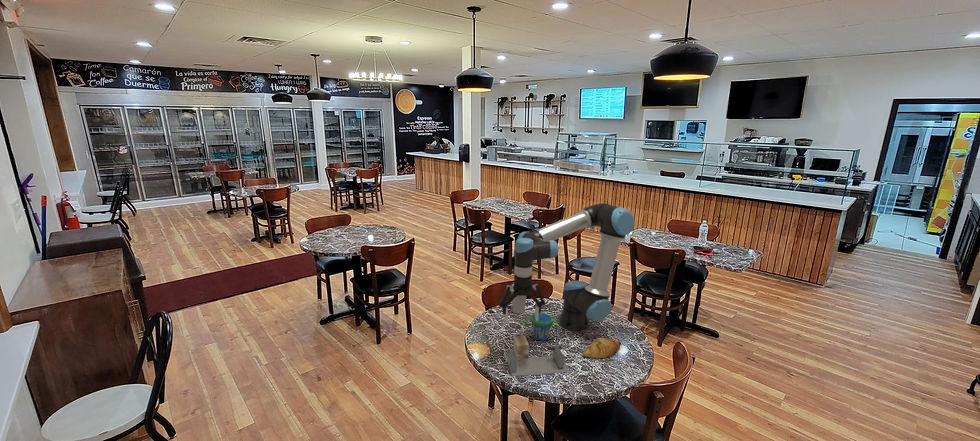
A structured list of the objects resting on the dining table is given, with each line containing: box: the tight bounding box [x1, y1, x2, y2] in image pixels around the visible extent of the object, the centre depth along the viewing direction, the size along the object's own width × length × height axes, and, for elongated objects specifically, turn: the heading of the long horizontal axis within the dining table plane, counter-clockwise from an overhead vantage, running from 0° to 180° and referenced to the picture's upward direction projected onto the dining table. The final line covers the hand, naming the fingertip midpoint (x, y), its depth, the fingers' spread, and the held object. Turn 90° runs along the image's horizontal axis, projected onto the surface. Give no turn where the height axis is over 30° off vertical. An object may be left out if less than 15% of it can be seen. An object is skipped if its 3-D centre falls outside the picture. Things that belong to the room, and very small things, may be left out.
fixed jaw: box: [507, 348, 517, 373], centre depth 169 cm, size 2×9×5 cm, turn 8°
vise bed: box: [506, 355, 569, 377], centre depth 172 cm, size 24×10×2 cm, turn 98°
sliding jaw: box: [546, 345, 565, 368], centre depth 173 cm, size 6×11×5 cm, turn 8°
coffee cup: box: [510, 283, 527, 315], centre depth 221 cm, size 10×10×15 cm
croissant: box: [582, 337, 622, 359], centre depth 183 cm, size 21×10×8 cm, turn 117°
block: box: [512, 335, 530, 358], centre depth 180 cm, size 5×8×7 cm, turn 8°
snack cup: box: [524, 312, 559, 341], centre depth 195 cm, size 16×10×10 cm
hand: (521, 320), depth 177 cm, fingers open, 13 cm apart
